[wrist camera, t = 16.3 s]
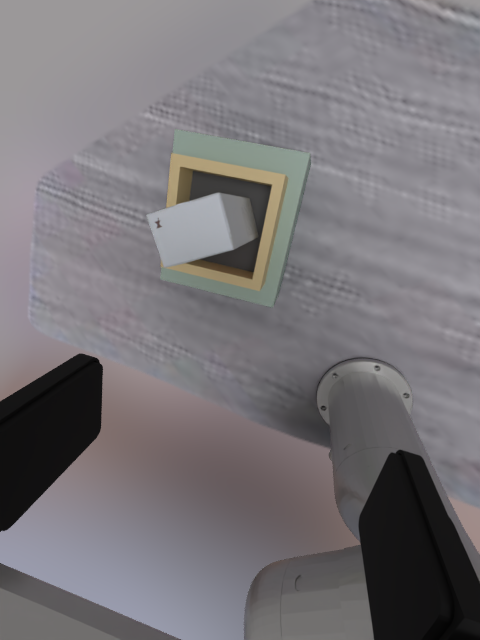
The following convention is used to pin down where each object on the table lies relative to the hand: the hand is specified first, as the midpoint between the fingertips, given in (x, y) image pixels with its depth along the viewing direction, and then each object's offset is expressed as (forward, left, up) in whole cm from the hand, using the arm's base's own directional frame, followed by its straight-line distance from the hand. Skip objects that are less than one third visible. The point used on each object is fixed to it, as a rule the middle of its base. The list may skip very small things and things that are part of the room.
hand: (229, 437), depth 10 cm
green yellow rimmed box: (+4, +8, -33) cm, 34 cm away
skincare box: (+4, +8, -26) cm, 28 cm away
